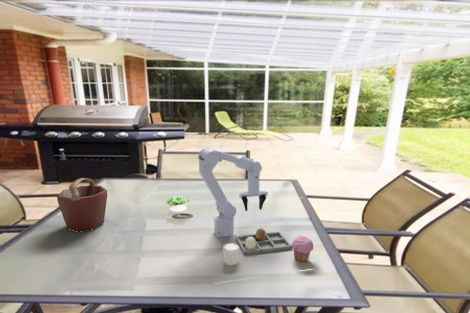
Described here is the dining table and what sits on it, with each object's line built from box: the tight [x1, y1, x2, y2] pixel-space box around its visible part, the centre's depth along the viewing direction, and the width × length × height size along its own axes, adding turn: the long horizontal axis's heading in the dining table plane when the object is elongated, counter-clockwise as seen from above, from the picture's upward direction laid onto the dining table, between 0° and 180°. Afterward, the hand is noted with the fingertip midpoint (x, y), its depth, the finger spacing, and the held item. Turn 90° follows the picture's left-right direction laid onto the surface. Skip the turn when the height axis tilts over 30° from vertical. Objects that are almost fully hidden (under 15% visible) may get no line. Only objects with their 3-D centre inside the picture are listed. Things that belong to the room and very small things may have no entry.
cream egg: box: [246, 237, 256, 251], centre depth 136 cm, size 4×4×6 cm
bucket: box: [56, 177, 108, 233], centre depth 160 cm, size 24×22×25 cm
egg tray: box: [235, 231, 293, 256], centre depth 141 cm, size 22×15×2 cm
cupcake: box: [291, 235, 314, 263], centre depth 128 cm, size 9×9×10 cm
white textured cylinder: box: [222, 242, 240, 266], centre depth 126 cm, size 7×7×7 cm
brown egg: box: [255, 228, 267, 241], centre depth 144 cm, size 4×4×6 cm
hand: (253, 209), depth 159 cm, fingers open, 7 cm apart
